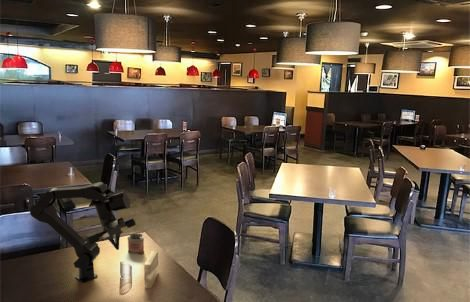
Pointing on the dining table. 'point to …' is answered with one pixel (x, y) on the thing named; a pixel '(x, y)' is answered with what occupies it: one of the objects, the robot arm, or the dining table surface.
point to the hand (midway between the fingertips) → (117, 249)
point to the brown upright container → (136, 244)
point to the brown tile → (151, 269)
